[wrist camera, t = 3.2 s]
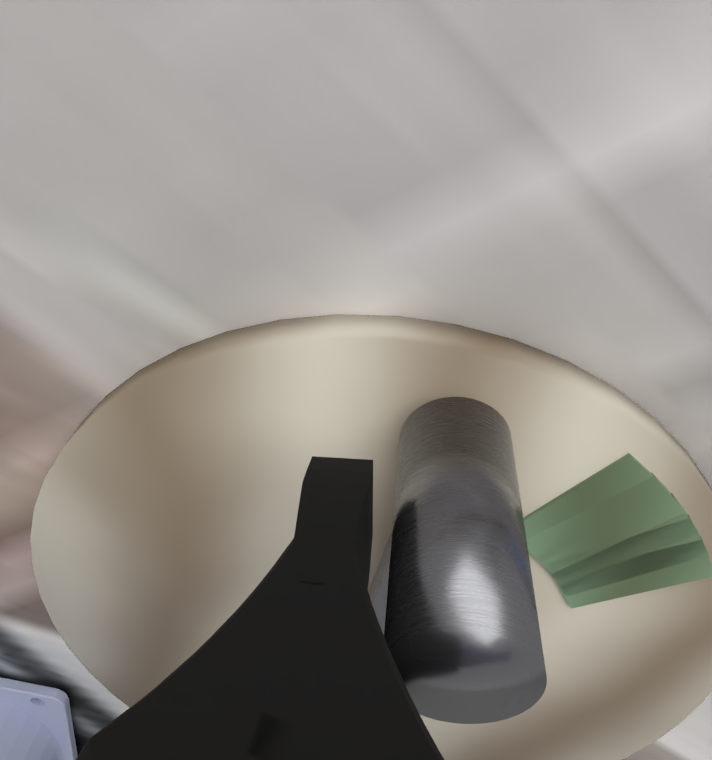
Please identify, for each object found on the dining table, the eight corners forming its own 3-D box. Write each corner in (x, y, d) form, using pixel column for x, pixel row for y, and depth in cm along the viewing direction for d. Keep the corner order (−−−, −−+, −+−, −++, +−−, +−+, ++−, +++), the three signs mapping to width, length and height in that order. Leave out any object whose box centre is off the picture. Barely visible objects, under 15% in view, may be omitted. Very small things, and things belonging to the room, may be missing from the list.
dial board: (74, 712, 25) (61, 741, 25) (4, 233, 14) (-27, 253, 13) (575, 810, 26) (580, 842, 25) (903, 414, 14) (934, 447, 13)
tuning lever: (405, 688, 20) (395, 915, 15) (307, 666, 19) (267, 887, 15) (542, 416, 14) (595, 656, 9) (402, 380, 13) (384, 607, 9)
